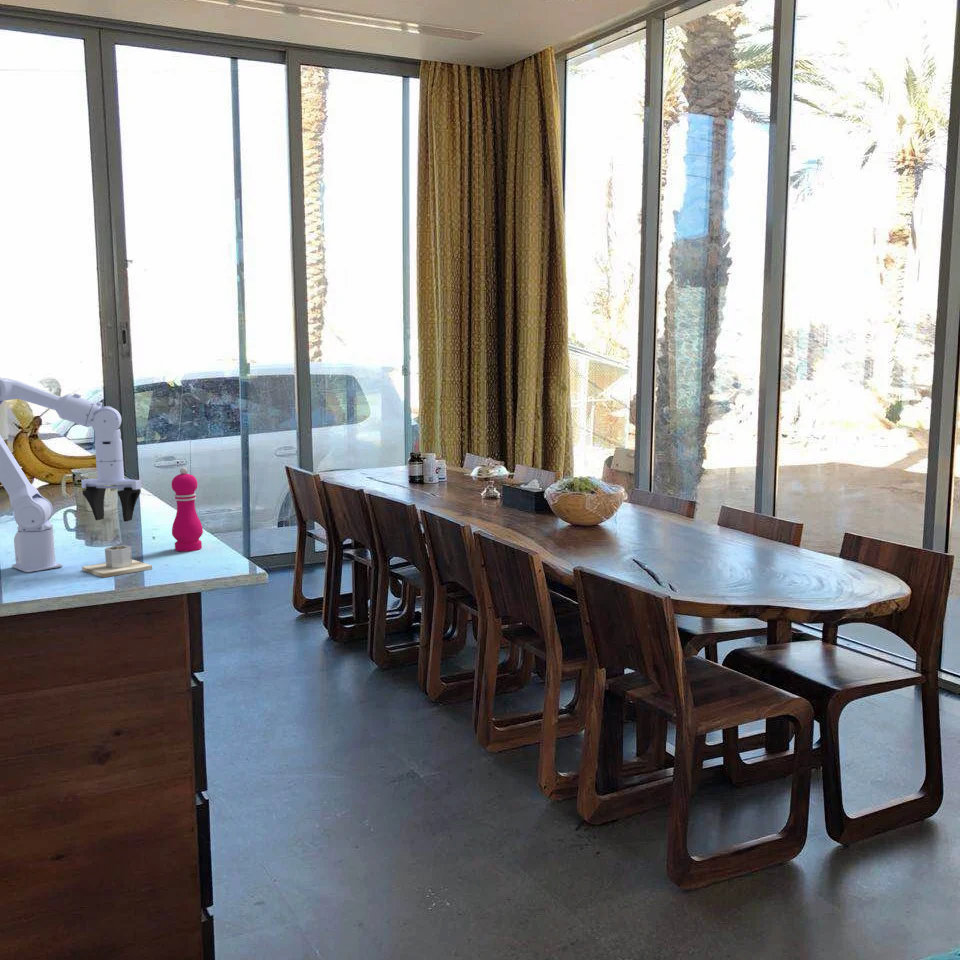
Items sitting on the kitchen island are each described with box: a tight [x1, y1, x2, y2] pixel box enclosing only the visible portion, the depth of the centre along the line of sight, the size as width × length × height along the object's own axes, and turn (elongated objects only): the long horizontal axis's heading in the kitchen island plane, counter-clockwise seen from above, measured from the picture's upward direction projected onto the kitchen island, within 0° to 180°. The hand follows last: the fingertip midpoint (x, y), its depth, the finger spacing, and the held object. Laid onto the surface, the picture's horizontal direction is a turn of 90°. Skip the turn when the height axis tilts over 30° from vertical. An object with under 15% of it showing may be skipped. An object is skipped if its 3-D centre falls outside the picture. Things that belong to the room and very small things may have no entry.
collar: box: [104, 545, 133, 568], centre depth 218 cm, size 5×5×4 cm
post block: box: [81, 559, 153, 578], centre depth 218 cm, size 11×11×4 cm
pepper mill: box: [171, 466, 204, 552], centre depth 238 cm, size 7×7×20 cm
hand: (113, 520), depth 224 cm, fingers open, 7 cm apart
